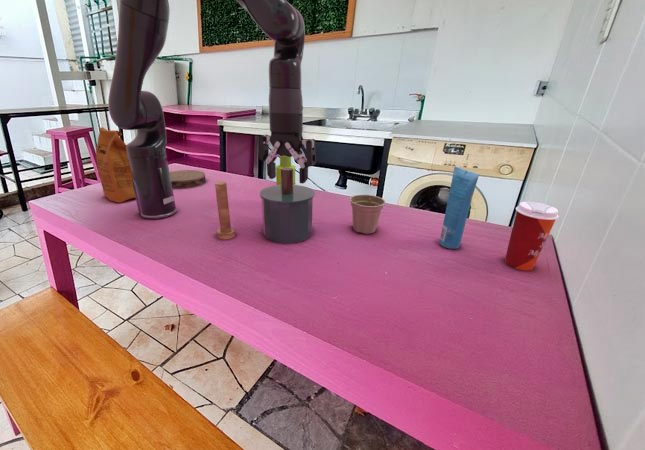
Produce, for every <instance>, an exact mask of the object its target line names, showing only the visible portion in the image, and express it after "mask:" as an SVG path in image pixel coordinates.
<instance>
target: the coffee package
mask: <svg viewBox="0 0 645 450" xmlns="http://www.w3.org/2000/svg"><path fill="white" fill-rule="evenodd" d="M121 136H122V132H121V131H119V130H116V129H115V130H114V129H113V130H108V129H106V128H104V126H103V127H99V133H98V138H97V144H96V148H95V149H96V150H95V155H96V157H95V159H96V166H97V174H98V177H99V180H100V184H101V186H102V192H103V194H104V197H105V198H107V199H108V200H109V201H110V202H114V203H123V202H126V201H128V200H133V199H136V197H135V193H134V189H133V184H132V183H133V182H134V181H133V176H132V172H131V168H130V164H129V159H128V155H127V151H126V146H127V144H126V143H125V142H124V140H122V138H121Z"/></svg>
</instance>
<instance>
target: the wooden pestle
mask: <svg viewBox="0 0 645 450" xmlns="http://www.w3.org/2000/svg"><path fill="white" fill-rule="evenodd" d="M214 187H215V189H214V190H215V196H216V205H217V213H218V220H219V228H218V229H216V236H217V238H218V239H219V240H231V239H233V238H235V237H236V229H235V227H232V225H231V223H232V222H231V213H230V206H229V195H228V185H227V182H226V181H223V180H219V181H216V182H214Z"/></svg>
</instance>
